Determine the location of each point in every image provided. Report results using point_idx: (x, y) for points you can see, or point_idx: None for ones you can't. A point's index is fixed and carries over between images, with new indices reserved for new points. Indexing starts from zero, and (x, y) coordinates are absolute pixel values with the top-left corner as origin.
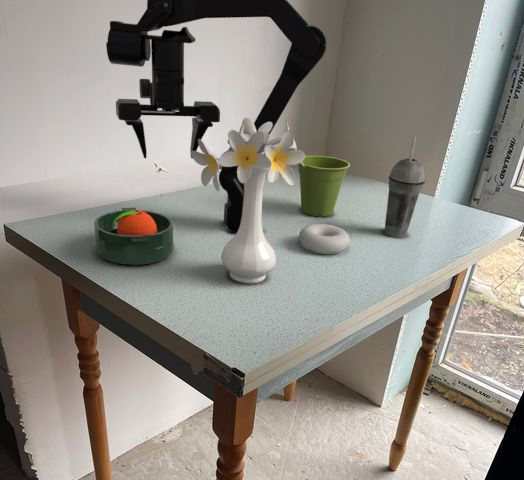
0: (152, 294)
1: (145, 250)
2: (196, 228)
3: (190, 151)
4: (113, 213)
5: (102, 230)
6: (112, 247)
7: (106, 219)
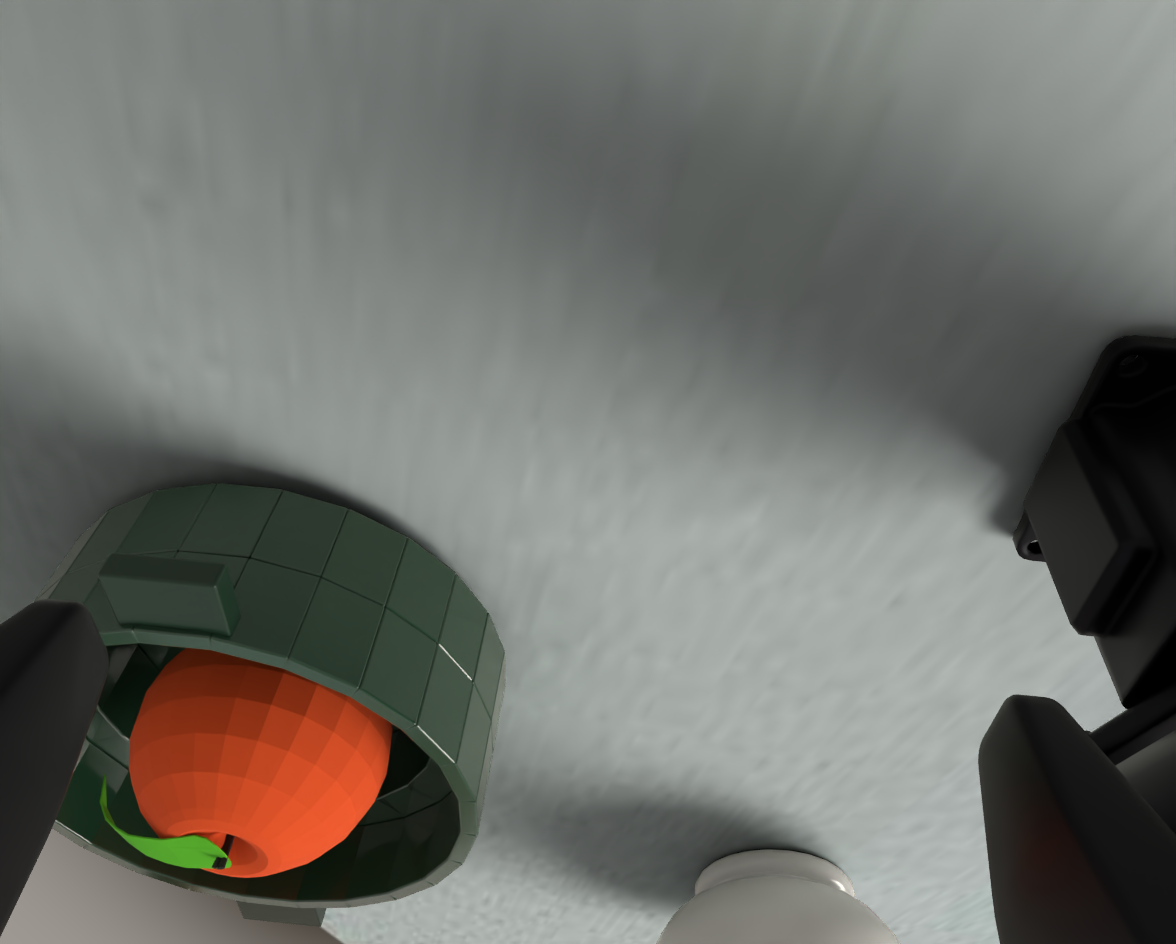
0: None
1: None
2: (791, 401)
3: (1044, 792)
4: None
5: (64, 834)
6: None
7: None
